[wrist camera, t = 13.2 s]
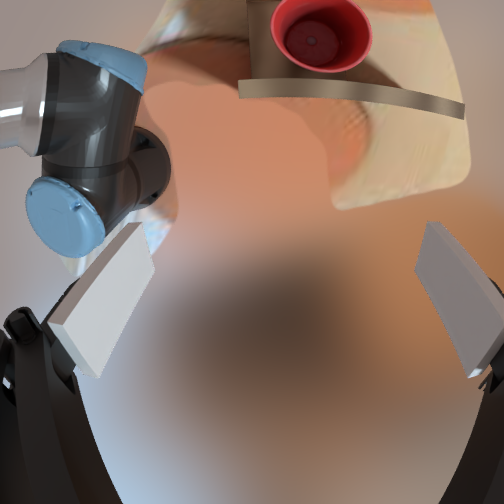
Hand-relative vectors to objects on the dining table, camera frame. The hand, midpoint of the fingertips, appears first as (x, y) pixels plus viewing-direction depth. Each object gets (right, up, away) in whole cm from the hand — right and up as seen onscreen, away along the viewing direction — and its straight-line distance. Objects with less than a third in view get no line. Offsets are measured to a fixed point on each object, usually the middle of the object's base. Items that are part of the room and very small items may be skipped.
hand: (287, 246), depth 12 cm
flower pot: (+7, +28, +17) cm, 33 cm away
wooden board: (+11, +24, +25) cm, 37 cm away
